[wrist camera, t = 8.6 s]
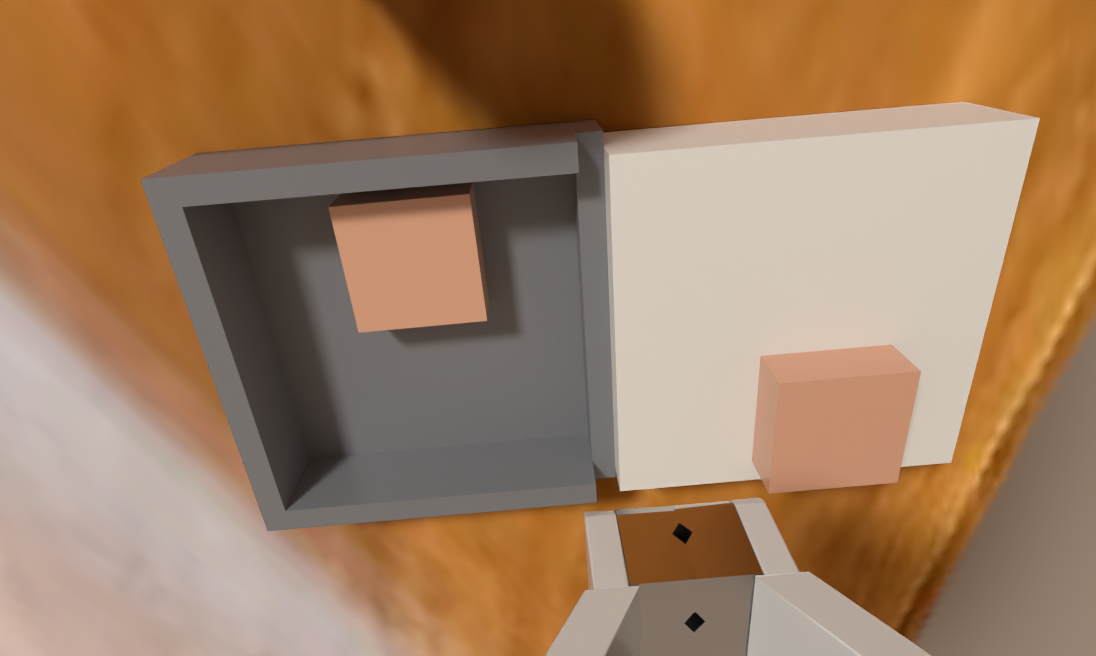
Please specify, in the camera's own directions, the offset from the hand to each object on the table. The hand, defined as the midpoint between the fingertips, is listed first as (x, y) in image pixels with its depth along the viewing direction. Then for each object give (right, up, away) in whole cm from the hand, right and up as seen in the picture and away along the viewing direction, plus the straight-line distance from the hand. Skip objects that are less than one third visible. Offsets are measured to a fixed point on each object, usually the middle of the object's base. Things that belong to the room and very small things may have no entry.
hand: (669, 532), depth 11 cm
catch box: (-7, +4, +17) cm, 19 cm away
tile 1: (-7, +6, +13) cm, 16 cm away
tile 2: (+9, 0, +15) cm, 17 cm away
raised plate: (+7, +5, +17) cm, 19 cm away
